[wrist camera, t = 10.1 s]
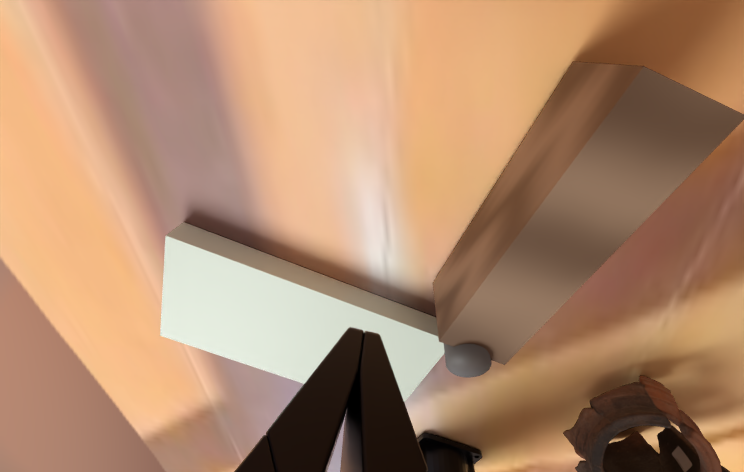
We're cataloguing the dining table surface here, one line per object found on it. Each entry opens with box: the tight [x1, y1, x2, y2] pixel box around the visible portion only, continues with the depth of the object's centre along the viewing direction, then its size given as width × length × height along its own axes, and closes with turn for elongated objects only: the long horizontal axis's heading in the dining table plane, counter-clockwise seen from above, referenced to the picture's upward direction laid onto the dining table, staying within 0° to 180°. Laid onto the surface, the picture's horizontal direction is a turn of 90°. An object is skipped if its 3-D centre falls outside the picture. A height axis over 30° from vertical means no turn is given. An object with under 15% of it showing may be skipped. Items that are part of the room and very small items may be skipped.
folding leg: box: [433, 62, 744, 377], centre depth 16 cm, size 16×4×5 cm, turn 159°
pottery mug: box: [563, 376, 730, 472], centre depth 24 cm, size 12×10×8 cm
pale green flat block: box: [160, 222, 445, 402], centre depth 24 cm, size 20×10×2 cm, turn 68°
